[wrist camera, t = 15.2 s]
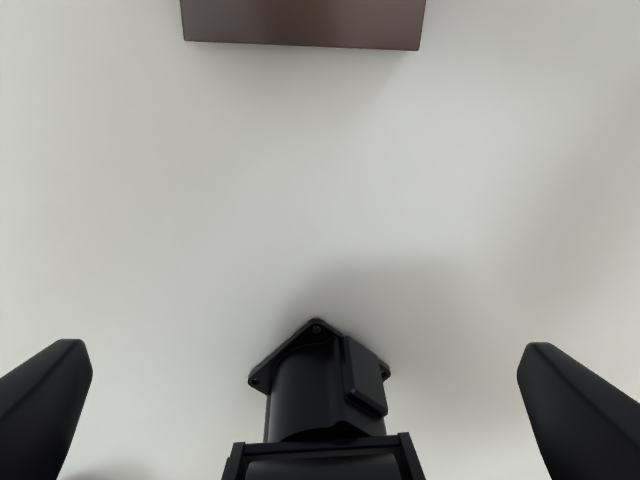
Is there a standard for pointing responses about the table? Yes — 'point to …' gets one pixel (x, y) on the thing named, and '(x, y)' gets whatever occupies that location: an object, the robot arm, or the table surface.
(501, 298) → the table surface
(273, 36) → the switch bracket
